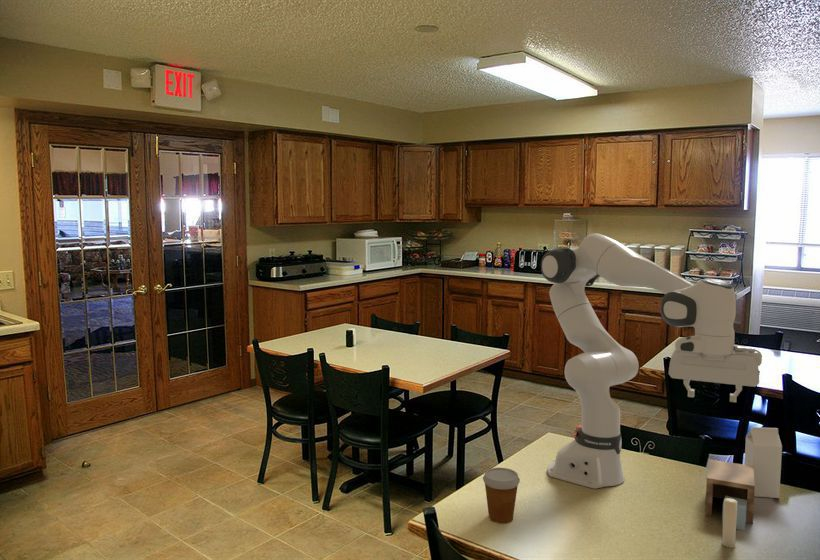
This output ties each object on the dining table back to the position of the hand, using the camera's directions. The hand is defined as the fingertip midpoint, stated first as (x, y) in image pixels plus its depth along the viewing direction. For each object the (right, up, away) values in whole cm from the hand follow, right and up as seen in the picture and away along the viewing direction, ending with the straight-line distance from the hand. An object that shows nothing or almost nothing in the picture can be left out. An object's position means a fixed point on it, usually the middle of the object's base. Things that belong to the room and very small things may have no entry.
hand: (711, 399), depth 154 cm
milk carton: (+25, -31, +22) cm, 45 cm away
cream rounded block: (+5, -33, -1) cm, 34 cm away
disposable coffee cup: (-52, -33, +8) cm, 62 cm away
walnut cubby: (+11, -32, +12) cm, 36 cm away
